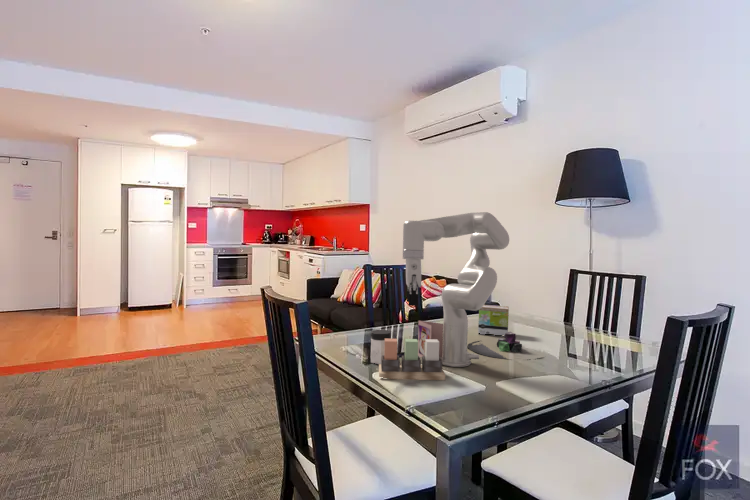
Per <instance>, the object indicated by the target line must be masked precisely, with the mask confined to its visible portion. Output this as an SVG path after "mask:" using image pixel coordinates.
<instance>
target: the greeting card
mask: <svg viewBox="0 0 750 500" xmlns="http://www.w3.org/2000/svg"><path fill="white" fill-rule="evenodd" d="M417 325H418V332H417V335H418V337H417V338H418V339H417V340H418V356H419V357H420V358H422V356H425V339H437V340H438V341H439V357H443V325H444V323H441V322H440V323H439V322H433V321H426V320H418V324H417Z"/></svg>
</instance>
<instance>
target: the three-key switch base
mask: <svg viewBox="0 0 750 500" xmlns="http://www.w3.org/2000/svg"><path fill="white" fill-rule="evenodd" d="M400 359H401V360H400ZM400 363H401V364H400ZM379 377H383V378H389V379H388V380H404V381H405V380H406V381H407V380H410V381H411V380H414V381H417V380H418V381H446V373H445V371H444V370H443V364H442V360H441V358H440V357H439V361H426V359H425V356H422V357H420V356H418V360H405V355H401V358H400V355H397V360H384V355H381V364H378V378H379Z"/></svg>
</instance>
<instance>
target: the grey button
mask: <svg viewBox="0 0 750 500" xmlns="http://www.w3.org/2000/svg"><path fill="white" fill-rule="evenodd" d="M425 359H426V361H439V341H438V340H437V339H425Z"/></svg>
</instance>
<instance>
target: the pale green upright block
mask: <svg viewBox="0 0 750 500" xmlns="http://www.w3.org/2000/svg"><path fill="white" fill-rule="evenodd" d="M404 356H405V360H418V339H417V338H404Z"/></svg>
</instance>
